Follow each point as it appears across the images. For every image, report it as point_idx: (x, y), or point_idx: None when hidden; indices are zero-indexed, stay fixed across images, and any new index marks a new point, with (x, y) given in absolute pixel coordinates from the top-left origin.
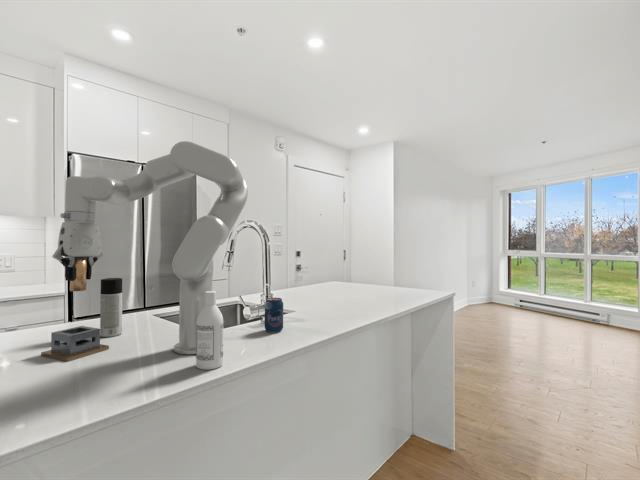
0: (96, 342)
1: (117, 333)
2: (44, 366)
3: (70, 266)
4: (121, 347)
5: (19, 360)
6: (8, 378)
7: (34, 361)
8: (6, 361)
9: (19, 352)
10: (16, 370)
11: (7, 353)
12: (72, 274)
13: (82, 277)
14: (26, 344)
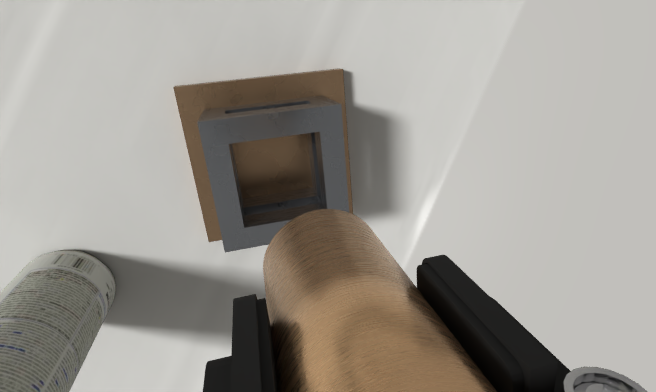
0: (218, 110)
1: (53, 253)
2: (396, 88)
3: (591, 388)
4: (127, 59)
5: (398, 216)
6: (489, 67)
7: (384, 169)
8: (417, 235)
9: None
10: (446, 123)
11: None
12: (482, 297)
13: (355, 272)
14: None
